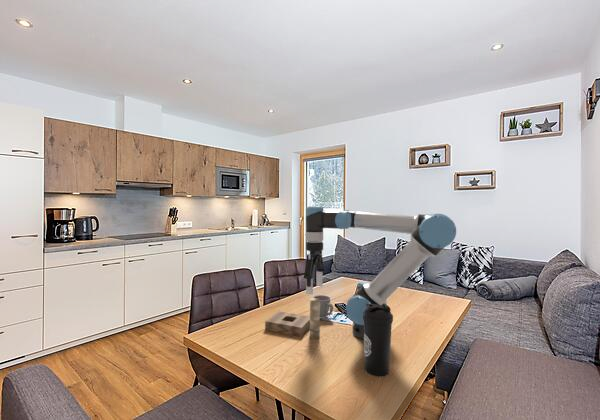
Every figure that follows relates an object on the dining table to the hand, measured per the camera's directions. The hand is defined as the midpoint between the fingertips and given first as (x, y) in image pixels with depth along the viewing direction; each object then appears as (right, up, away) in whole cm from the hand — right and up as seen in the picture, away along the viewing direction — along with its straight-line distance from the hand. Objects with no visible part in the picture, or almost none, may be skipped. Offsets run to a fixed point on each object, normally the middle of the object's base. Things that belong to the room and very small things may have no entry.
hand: (314, 289), depth 132 cm
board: (-12, -20, +9) cm, 25 cm away
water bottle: (+21, -22, -26) cm, 40 cm away
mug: (+6, -20, +23) cm, 31 cm away
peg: (0, -21, 0) cm, 21 cm away
